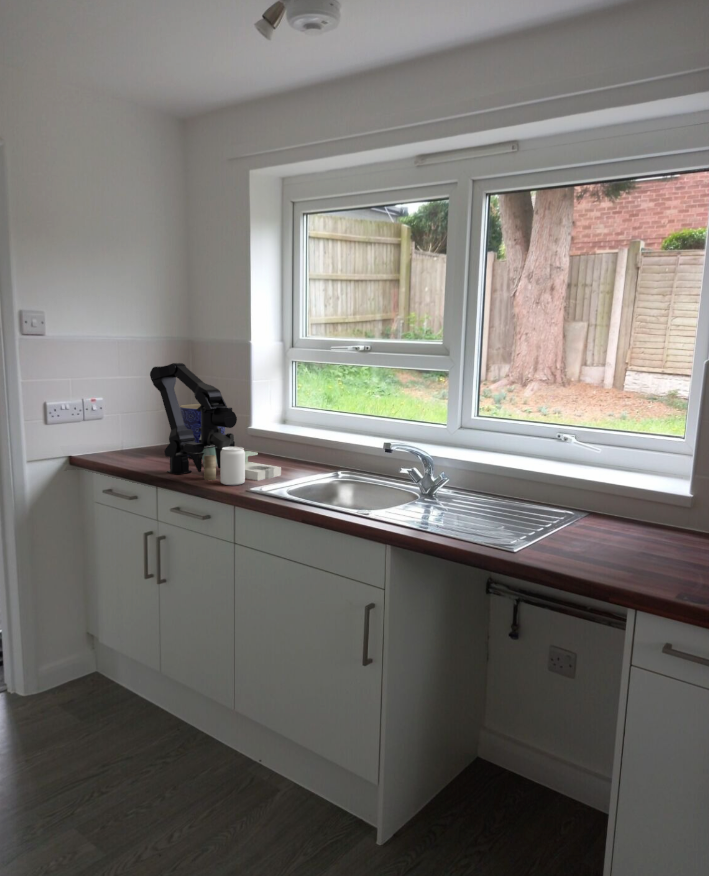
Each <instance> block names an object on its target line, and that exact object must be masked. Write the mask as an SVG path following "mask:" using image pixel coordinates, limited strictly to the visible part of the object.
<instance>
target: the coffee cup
mask: <svg viewBox="0 0 709 876" xmlns="http://www.w3.org/2000/svg"><path fill="white" fill-rule="evenodd" d="M199 440H201V436H200V439H199ZM207 446H208V445H207ZM202 453H204V455H203V456H202V466H203V467H204V456H206V455H215V456H216V452H215V447H213V448H207V449H204V450H203V452H202ZM216 467H218V465H217V459H216Z"/></svg>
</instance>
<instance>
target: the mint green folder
mask: <svg viewBox="0 0 709 876" xmlns="http://www.w3.org/2000/svg"><path fill="white" fill-rule="evenodd" d="M244 451H245V462H249V457H252V456H253V457H254V456H258V452H255V451H250V450H244Z"/></svg>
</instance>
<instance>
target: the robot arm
mask: <svg viewBox="0 0 709 876" xmlns="http://www.w3.org/2000/svg"><path fill="white" fill-rule="evenodd" d="M149 376H150V380H151V383H152V384H153V386H154V387H155V388H156V390H158V392H159V393H160V397H161V400H162V402H163V405H164V411H165V413H166V417H167V420H168V425H169V427H170V434H169V437H168V442H169V443H168V445H167V446H166V447H165V448H164V455H165V457H169V470H166V473H167V474H168V473H169V474H171V475H172V474H174V475H184V474H189V473H192V470H190V464H189V463H190V461H189V458H190V459H191V460H192V462H193V464H194V467H196V470H197V472H198V473H202V468H203V467H202V466H203V460H202V456H203V455H204V453H202V452H203V450H204V449H207V448H213V447H215V452H216V459H217V465H218V466H217V468H218V469H220V452H221V451H222V448H224V447H236V446H235V443H236V442H235V437H234V436H235V435H234V434H233V433H231V432H229V433H225V434H222V433H221V428H218V426H219V427H225V429H226V428H227V429H232V428H234V427H235V426H236V424H237V421H238V418H237V415H236V413H235V412H234V411H233V407H229V406H228V405H227V403H226V401H225V400H224V398H223V395H222V392H221V391H220V390H219V388H217V387H215V386H213V385H211V384H208V383H205V382H204V381H203V380H202V379H200V378H199V377H198V376H197V375H196V374H194V373H193V372H192V371H191V370H190V369H189V368H188V367H187V365H186V364H185V363H182V362H172V363H170V364H167V365H164V366H153V367H152V368H151V370H150V373H149ZM177 379H178V380H179V381H180V382H181V383H183V384H184V385H185V386H186V387H187V388H188V389H189V390H190V391H192V392H193V395H194V399H195V400H196V401H197V402H198V404H200V405H201V406H200V407H199V408H198V409H197V411H201V428H199V431H201V440H199V443H195V438H194V435H193V431H192V429H187V428H186V427H185V425H184V421H183V418H182V414H181V411H180V407H179V406H180V405H179V401H178V398H177V394H176V391H175V385H176V383H177ZM207 445H208V446H207ZM187 455H190V457H189V456H187Z"/></svg>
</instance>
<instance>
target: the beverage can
mask: <svg viewBox="0 0 709 876" xmlns="http://www.w3.org/2000/svg"><path fill="white" fill-rule="evenodd" d="M244 449H245V448H244V447H242V446H235V447H224V448H222V451H221V452H220V468H219V470H220V479H219V480H220V483H221V484H223V485H226V486H240V485H243V484H245V482H246V478H245V451H246V450H244Z"/></svg>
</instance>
